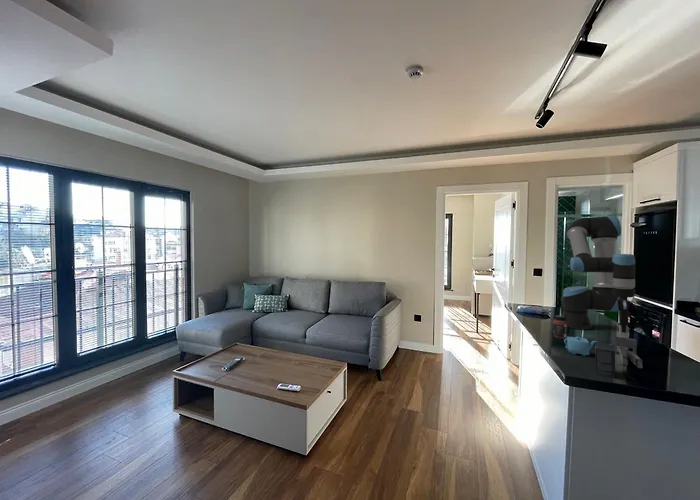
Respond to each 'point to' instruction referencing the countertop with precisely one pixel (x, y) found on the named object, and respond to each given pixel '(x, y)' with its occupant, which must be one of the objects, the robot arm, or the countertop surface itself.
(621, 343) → the collar
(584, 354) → the blue teapot
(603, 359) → the box
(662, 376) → the countertop surface
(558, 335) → the supplement bottle
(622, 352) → the tongs fixed
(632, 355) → the tongs jaw
